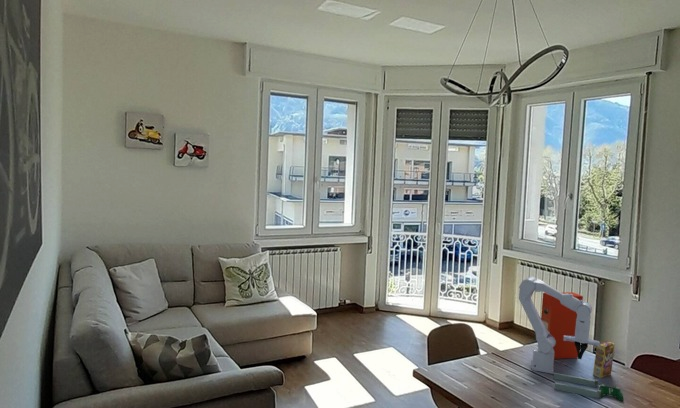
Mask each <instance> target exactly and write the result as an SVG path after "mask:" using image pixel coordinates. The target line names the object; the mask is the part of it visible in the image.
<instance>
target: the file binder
mask: <svg viewBox="0 0 680 408" xmlns="http://www.w3.org/2000/svg"><path fill="white" fill-rule="evenodd" d="M561 293H562V294H566V293H568V294H572V295H573V297H575V298H577V299H579V300H580V301H581V300H582V301H583V302H584V296H583V295H581V294H579V293H575V292H561ZM541 300H542V301H541V303H542V304H541V315H540V318H541V320H542V322H543V324H544V326H545V328H546V330H548V331H549V333H550V334H551V336H553V337H554V338H555V340H556V345H555V346H554V347H553V349H554V360H556V359H557V360H558V359H578V353H577V349H576V347H575V343H574V342H571V341H564V335H565V336H575V327H576V318H577V313H576V312H575V311H573V310H571V309H569V308H567V307H566V306H564V305H562V304H561V302H560V300H559V299H557V298H555V297H553V296H551V295H549V294H547V293H545V292H542V299H541Z"/></svg>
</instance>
